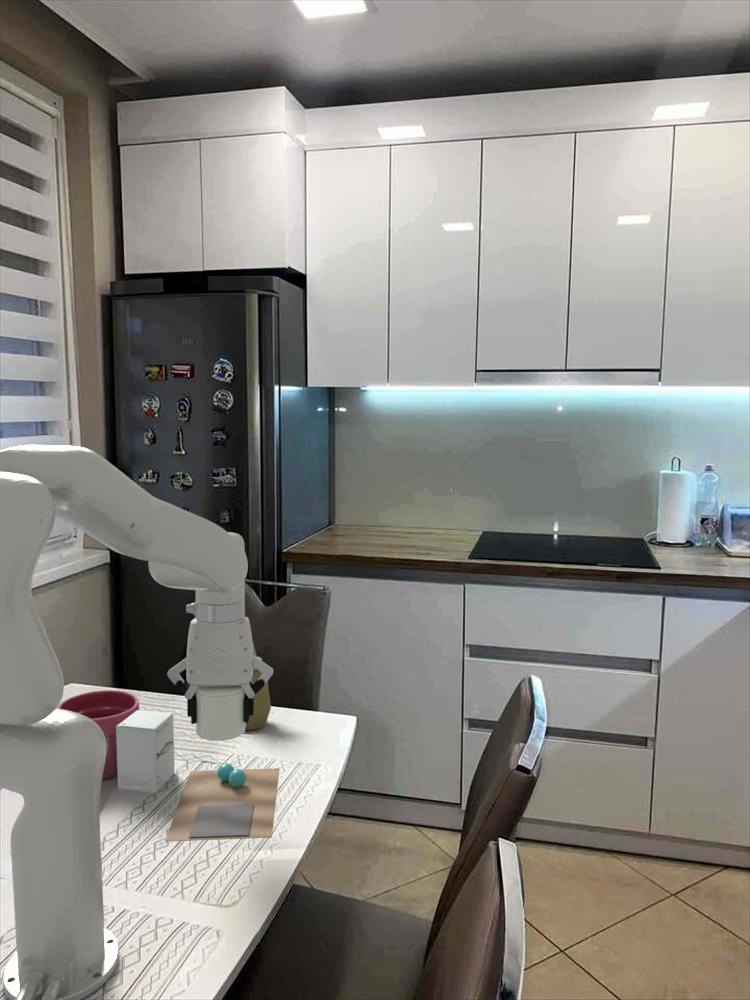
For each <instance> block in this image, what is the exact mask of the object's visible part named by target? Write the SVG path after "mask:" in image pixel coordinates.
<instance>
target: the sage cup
mask: <svg viewBox="0 0 750 1000" xmlns="http://www.w3.org/2000/svg"><path fill="white" fill-rule="evenodd" d="M244 698H245V692H244V690H243V688H242V687H241V686H199V687H198V688H197V690H196V723H195V725H196V726H195V730H196V731H195V733H196V735H197V736H198V737H199V738H200V739H203V740H206V741H211V742H213V741H214V742H215V741H217V742H218V741H219V742H221V741H223V742H225V741H229V740H232V739H237V738H239V737H240V736H242V735H243V734H245V733H246V730H245V728H246V723H245V722H244Z"/></svg>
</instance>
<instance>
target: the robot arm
mask: <svg viewBox="0 0 750 1000" xmlns="http://www.w3.org/2000/svg"><path fill="white" fill-rule="evenodd" d="M56 518H57V519H60V520H62V521H64V522H67V523H68V524H70V525H71V526H73V527H75V528H76V529H78V530H80V531H82V532H83V533H85V534H86V535H88V536H89V537H91V538H93V539H95V540H96V541H98V542H100V543H101V544H103V546H105V547H106V548H109V549H110V550H112V551H114V552H115V553H118V554H120V555H125V556H127V557H130V558H134V559H137V560H142V561H146V562H147V561H148V571H149V574H150V575H151V577H152V579H153V580H154V581H155V582H157V583H158V584H159V585H161V586H164V587H166V588H170V589H171V588H172V589H180V590H188V591H195V601H194V602H192V603H191V604H190V603H189V604H186V606H185V607H186V608H185V611H186V614H187V613H188V614H190V613H191V614H193V616H194V618H193V619H192V620H191V621H190V624H189V628H188V635H187V645H186V646H187V647H186V657H185V658H184V659H182V660H181V661H180V662H177V664H175V665H174V666H173V667H171V668H169V669H168V671H167V674H166V675H167V677H168V679H169V680H170V681H171V682H172V684H174V685H175V688H176V689H177V690H178V691H179V692H180V693H181V694H182V695H183V696H184V698H185V699H186V700H187V701H186V703H187V707H186V708H187V711H186V713H187V717H188V718H189V717H190V721H191V723H190V724H191V725H196V690H197V688H198V687H199V686H241V687H242V688H243V690H244V692H245V698H244V722H245V723H249V718H250V716H252V715H254V696H255V694H256V693H257V692H258V691H259V690H261V689H262V688H263V687H264V685H265V683H266V682H267V681H268V682H269V680H270V679H271V677H272V676H273V674H274V668H273V667H271V666H270V665H269V664H267V663H266V662H264V661H263V660H262V661H261V660H260V659H259V658H257V657H258V656H257V655H256V656H257V657H256V656H254V655H253V643H254V642H253V637H252V636H253V634H252V629H251V624H250V619H249V617H247V616H246V615H245V614H246V610H245V608H246V607H245V606H246V604H245V603H246V601H245V600H246V599H245V597H246V595H245V594H246V593H245V591H246V589H245V585H246V583H245V581H246V580H245V579H246V578H247V575H248V569H249V568H248V567H249V563H248V562H249V561H248V558H247V554H246V551H245V548H246V547H245V541H244V538H243V537H242V535H240V534H239V533H236V532H232V531H230V532H229V531H226V530H225V529H224V528H223V527H221V526H220V525H218V524H216V523H215V522H212V521H210V520H209V519H207V518H204V517H203V516H200V515H197V514H194V513H192V512H190V511H188V510H186V509H183V508H181V507H178V506H176V505H174V504H172V503H170V502H167V501H164V500H161V499H159V498H158V497H155V496H153V495H152V494H150V493H149V492H148V491H146V490H145V489H144V488H142V487H141V486H140V485H139V484H137V482H135V481H134V480H132V479H131V478H130V477H129V476H127V475H126V474H125V473H124V472H123V471H121V470H119V469H118V468H117V467H116V466H115V465H113V464H112V463H111V462H109V461H108V460H107V459H106V458H105V457H103V455H100V454H99V453H97V452H95V451H94V450H91V449H89V448H86V447H81V446H77V445H76V446H74V445H50V444H49V445H47V444H46V445H45V444H44V445H43V444H38V445H37V444H24V445H18V446H12V447H8V448H4V449H1V450H0V789H4V790H7V791H9V792H12V793H17V794H19V795H20V796H22V798H23V806H22V809H21V810H20V811H19V814H18V815H17V817H16V819H15V821H14V823H13V826H12V829H11V834H10V857H11V869H12V870H11V874H12V890H13V892H12V893H13V907H14V908H13V909H14V926H15V944H16V945H15V946H16V948H15V949H16V952H15V953H14V954H13V955H12V956H11V958H10V959H9V961H8V962H7V964H6V966H5V968H4V971H3V977H2V978H3V979H2V985H3V992H4V994H5V996H6V998H7V999H8V1000H82V999H84V998H86V997H88V996H89V995H91V994H93V993H94V992H96V991H97V990H98V989H99V988H100V987H102V986H104V984H105V983H106V982H107V980H109V978H111V976H112V975H113V974H114V971H115V970H116V968H117V965H118V963H119V957H120V949H119V948H120V947H119V942H118V940H117V937H116V936H115V935H114V934H113V933H112V932H111V930H108V929H107V928H105V915H104V891H103V868H102V867H103V865H102V842H101V841H102V840H101V819H100V818H101V813H100V809H101V808H100V805H101V789H102V782H103V781H102V776H103V770H104V765H105V759H106V739H105V736H104V733H103V731H102V730H101V728H100V727H99V726H98V725H97V724H96V723H95V722H94V721H93V720H91V719H90V718H88V717H86V716H84V715H81V714H79V713H76V712H72V711H68V710H63V709H58V708H57V707H58V705H59V704H60V703H62V699H63V697H64V691H65V690H64V689H65V683H64V675H63V670H62V668H61V665H60V663H59V659H58V658H57V655H56V653H55V651H54V648H53V646H52V643H51V641H50V639H49V636H48V634H47V632H46V629H45V627H44V624H43V623H42V621H41V617H40V616H39V612H38V611H37V607H36V604H35V601H34V598H33V594H32V582H33V579H34V574H35V570H36V567H37V564H38V562H39V560H40V557H41V556H42V553H43V551H44V549H45V546H46V544H47V543H48V541H49V540H50V537H51V534H52V532H53V529H54V526H55V522H56ZM252 642H253V643H252ZM254 667H255V668H256V669H257V670H259V671H260V672H261V673H262V675H261V676H260V678H258V679H257V680H256V681H255V682H254V683H253V682H252V680H251V679H252V675H253V668H254ZM184 670H185V671H186V672H185V675H186V680H185V679H184V678H183V677H182V676H181V673H182V672H184Z"/></svg>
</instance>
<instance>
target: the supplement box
mask: <svg viewBox="0 0 750 1000" xmlns="http://www.w3.org/2000/svg"><path fill="white" fill-rule="evenodd" d="M174 733H175V732H174V712H165V711H152V710H140V709H139V710H137V711H135V712H134V713H133V714H132V715H130V716H129V717H128V718H126V719H125V720H124V721H122V722H121V723H120V724H119V725H117V726H116V740H117V772H118V775H117V789H118V790H122V791H123V790H124V791H130V792H132V791H133V792H141V793H151V794H156V793H157V792H159V790H161V788H163V786H164V785H165V784H167V782H169V780H170V779H171V778H172V777H173V776H174V775H175V774H176V773H175V736H174Z"/></svg>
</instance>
